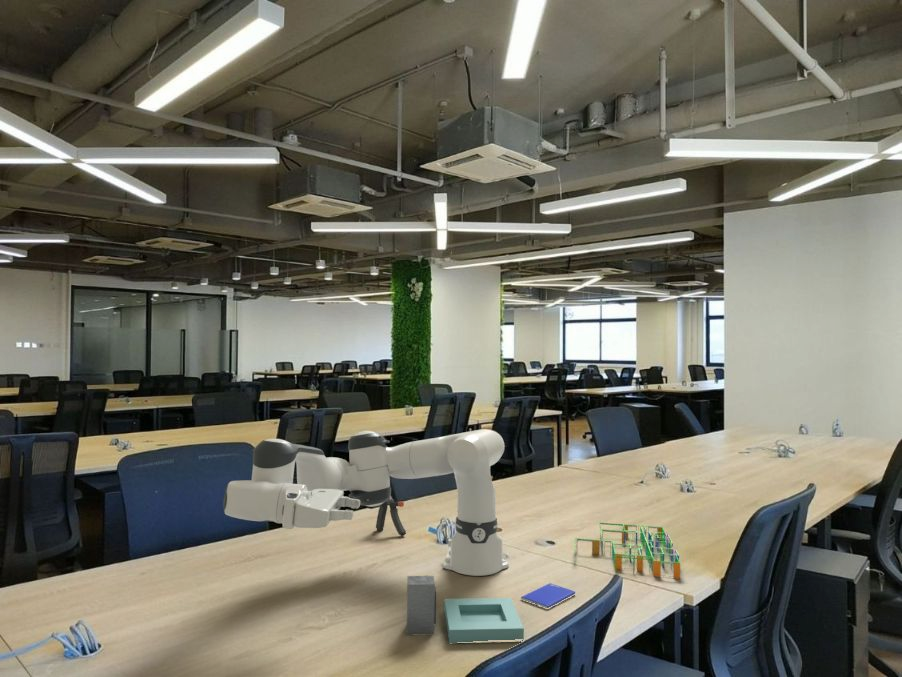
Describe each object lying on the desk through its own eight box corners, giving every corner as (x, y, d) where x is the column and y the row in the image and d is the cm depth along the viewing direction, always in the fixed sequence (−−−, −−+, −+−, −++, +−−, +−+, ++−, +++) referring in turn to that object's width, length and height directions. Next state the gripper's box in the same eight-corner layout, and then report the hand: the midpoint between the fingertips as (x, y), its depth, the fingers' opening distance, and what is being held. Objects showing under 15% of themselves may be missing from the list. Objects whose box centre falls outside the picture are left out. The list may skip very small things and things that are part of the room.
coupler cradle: (444, 611, 145) (444, 599, 145) (510, 610, 147) (510, 597, 147) (449, 644, 129) (449, 629, 130) (523, 642, 131) (523, 628, 131)
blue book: (549, 582, 162) (520, 596, 153) (575, 591, 156) (547, 605, 147) (549, 588, 162) (520, 602, 153) (575, 597, 156) (547, 612, 147)
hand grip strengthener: (402, 538, 201) (403, 492, 202) (375, 530, 209) (375, 487, 209) (407, 536, 203) (407, 491, 204) (379, 529, 211) (380, 485, 211)
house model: (683, 580, 169) (683, 563, 169) (574, 571, 175) (574, 554, 175) (665, 541, 203) (665, 527, 203) (574, 534, 209) (574, 520, 209)
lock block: (406, 624, 138) (407, 576, 138) (434, 624, 139) (435, 575, 139) (406, 635, 133) (407, 584, 133) (435, 634, 134) (436, 584, 134)
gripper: (305, 506, 148) (362, 511, 148) (281, 531, 127) (347, 537, 127) (307, 480, 148) (364, 485, 148) (284, 500, 128) (350, 506, 128)
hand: (356, 509), depth 137 cm, fingers open, 8 cm apart
